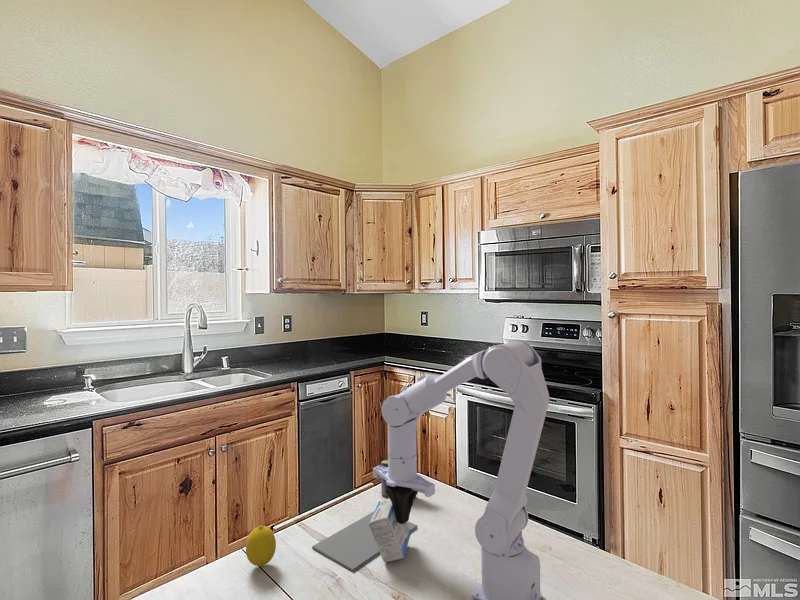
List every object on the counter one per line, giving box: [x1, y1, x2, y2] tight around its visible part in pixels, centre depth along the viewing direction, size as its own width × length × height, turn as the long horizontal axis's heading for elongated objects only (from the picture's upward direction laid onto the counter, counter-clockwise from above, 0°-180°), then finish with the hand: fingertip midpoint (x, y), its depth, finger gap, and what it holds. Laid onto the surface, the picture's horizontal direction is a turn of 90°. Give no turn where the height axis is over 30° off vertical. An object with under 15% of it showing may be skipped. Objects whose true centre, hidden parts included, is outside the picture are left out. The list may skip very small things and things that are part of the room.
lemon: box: [245, 524, 277, 568], centre depth 85 cm, size 6×6×8 cm
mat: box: [311, 511, 418, 573], centre depth 95 cm, size 12×20×1 cm, turn 140°
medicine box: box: [369, 498, 412, 563], centre depth 89 cm, size 8×4×9 cm, turn 168°
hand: (403, 521), depth 88 cm, fingers closed
